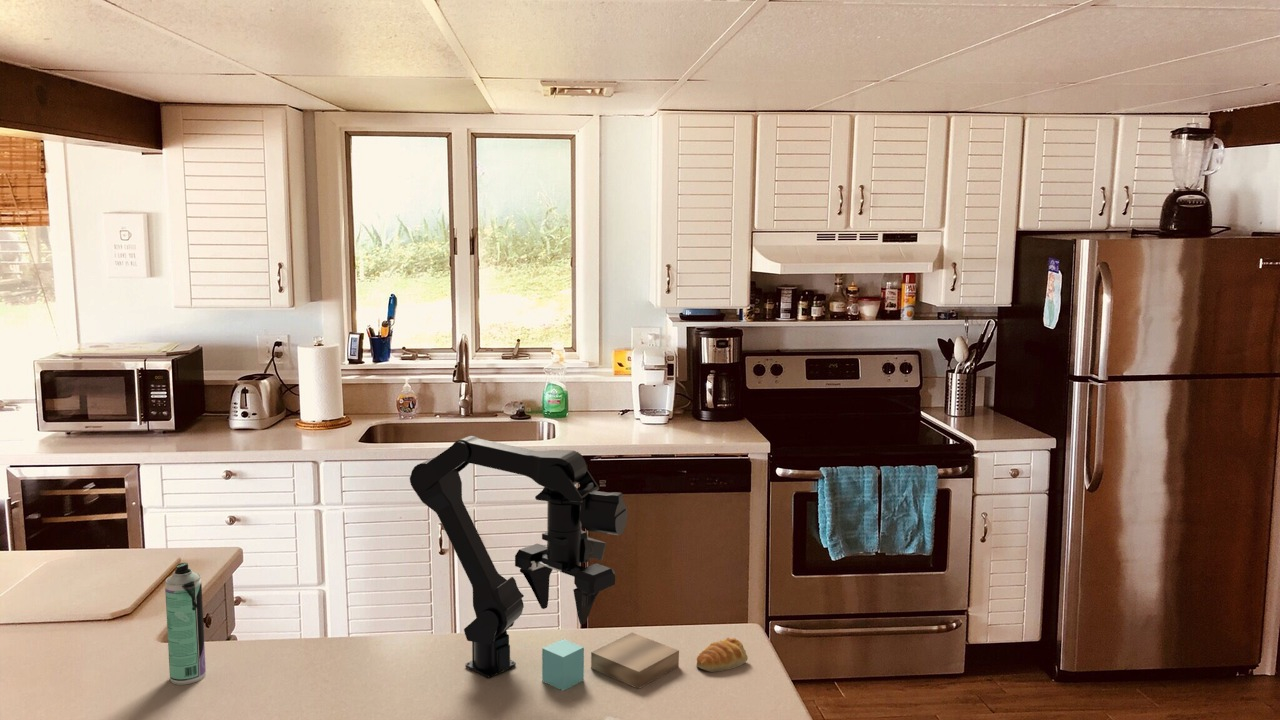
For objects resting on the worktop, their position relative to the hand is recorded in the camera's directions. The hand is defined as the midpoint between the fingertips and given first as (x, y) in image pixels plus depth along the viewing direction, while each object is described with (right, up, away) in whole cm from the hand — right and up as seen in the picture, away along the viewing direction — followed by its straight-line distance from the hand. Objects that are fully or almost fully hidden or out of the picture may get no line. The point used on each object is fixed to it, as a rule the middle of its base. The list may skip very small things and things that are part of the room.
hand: (563, 615), depth 156 cm
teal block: (0, -12, +2) cm, 12 cm away
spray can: (-64, -11, 0) cm, 65 cm away
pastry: (+28, -11, +9) cm, 32 cm away
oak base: (+12, -11, +7) cm, 18 cm away
